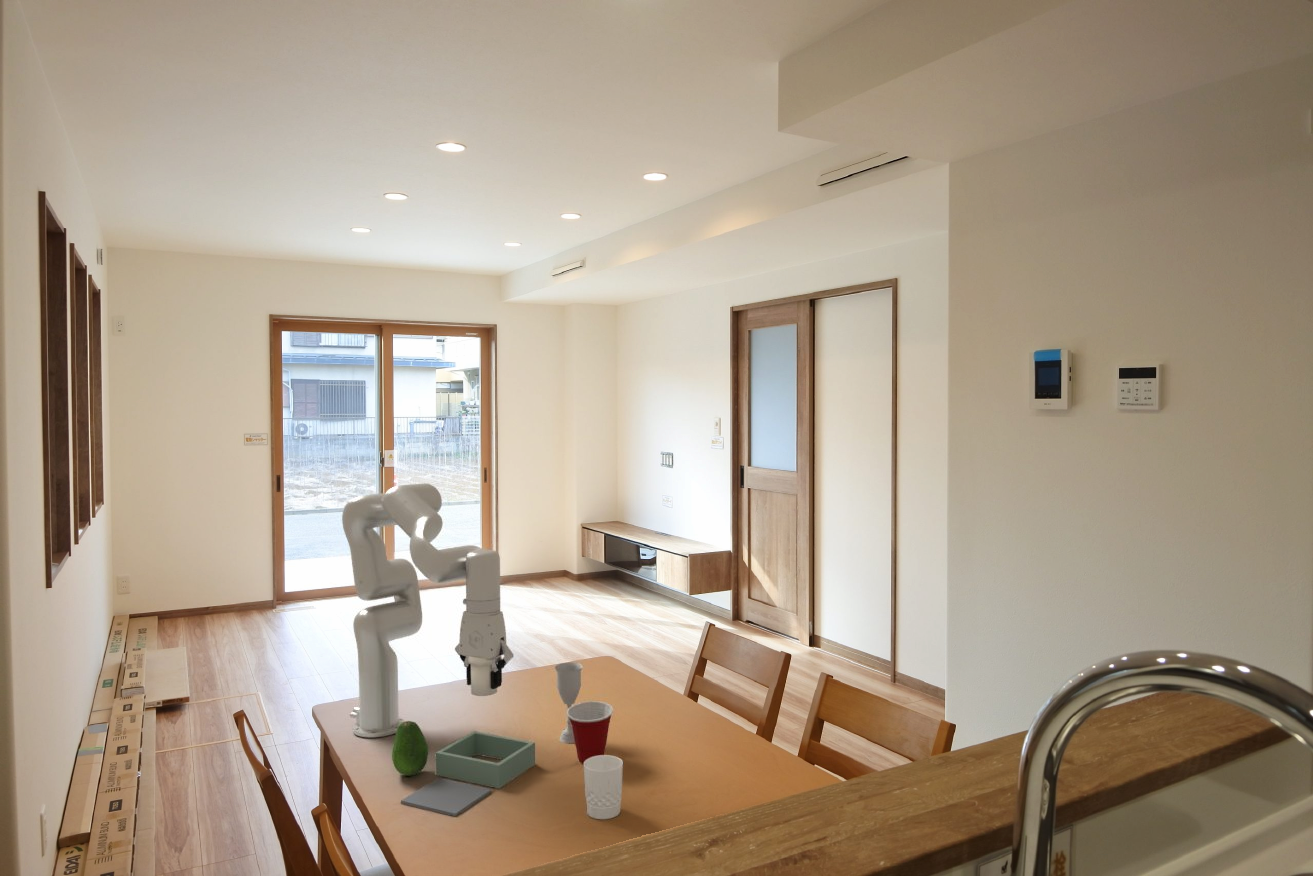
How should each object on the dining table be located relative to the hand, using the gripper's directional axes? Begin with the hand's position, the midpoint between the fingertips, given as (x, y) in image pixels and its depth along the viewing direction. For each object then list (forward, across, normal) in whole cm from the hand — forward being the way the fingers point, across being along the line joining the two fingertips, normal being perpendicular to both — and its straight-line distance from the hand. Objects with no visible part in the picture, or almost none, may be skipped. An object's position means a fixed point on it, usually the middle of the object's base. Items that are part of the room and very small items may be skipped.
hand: (484, 684), depth 190 cm
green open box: (+19, 0, 0) cm, 19 cm away
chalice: (+20, +8, +23) cm, 31 cm away
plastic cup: (+20, +19, +14) cm, 31 cm away
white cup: (+19, +34, -7) cm, 40 cm away
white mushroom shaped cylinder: (+2, 0, 0) cm, 2 cm away
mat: (+19, +1, -15) cm, 24 cm away
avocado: (+20, -14, -9) cm, 26 cm away
